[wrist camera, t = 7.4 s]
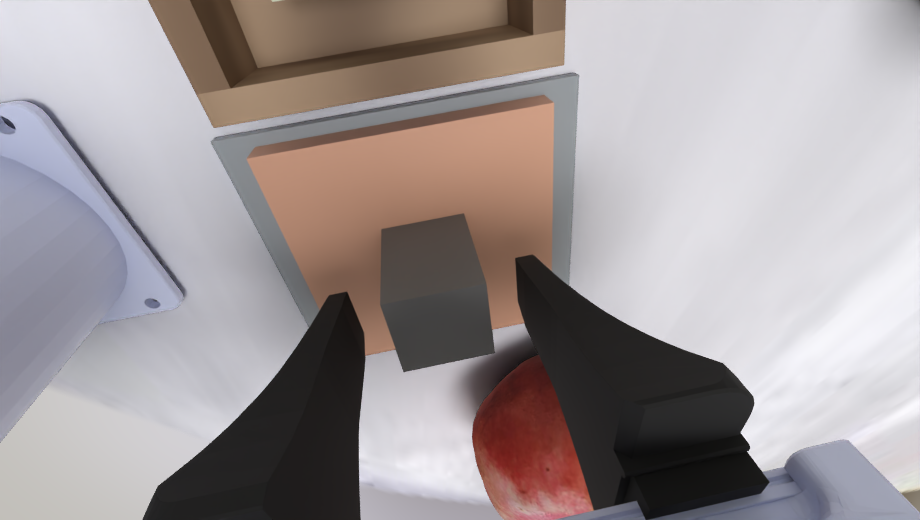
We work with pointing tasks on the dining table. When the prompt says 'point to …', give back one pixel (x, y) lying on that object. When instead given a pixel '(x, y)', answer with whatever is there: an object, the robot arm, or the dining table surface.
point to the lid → (420, 222)
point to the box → (350, 49)
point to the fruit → (528, 449)
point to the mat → (555, 88)
